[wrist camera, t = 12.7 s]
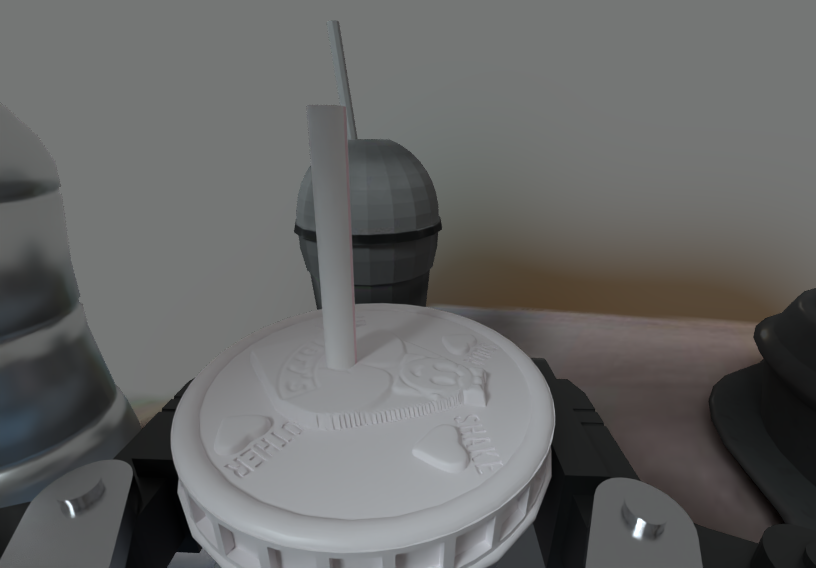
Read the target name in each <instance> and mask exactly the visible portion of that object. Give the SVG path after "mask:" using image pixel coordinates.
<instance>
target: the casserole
mask: <svg viewBox="0 0 816 568" xmlns="http://www.w3.org/2000/svg"><path fill="white" fill-rule="evenodd" d="M753 338H754V340H755V342H756V345H757V347H758V349H759V352H760V353H761V355H762V356H763V358H764V359H763V360H762V361H761V362H760V363H758V364H755V365H752V366H750V367H747V368H744V369H742V370H739V371H736V372H734V373H731V374H728V375H726V376H724V377H723V378H722V379H721V380H720V381H719V382H718V383H716V384H715V385H714V386H713V389H712V392H711V395H710V398H709V406H710V413H711V419H712V422H713V424H714V426H715V427H716V429H717V431H718V433H719V435H720V437H721V439H722V441H723V443H724V445H725V446H726V447H727V449H728V450H729V451H730V452H731V454H732V455H733V456H734V457H735V459H736V460H737V461H738V462H739V464H740V465H741V466H742V467H743V469H744V470H745V471H746V472H747V474H748V475H749V476H750V477H751V479H752V480H753V481H754V482H755V484H756V485H757V486H758V487H759V489H760V490H761V491H762V492H763V494H764V495H765V496H766V497H767V499H768V500H769V501H770V502H771V503H772V505H773V506H774V507H775V508H776V510H777V511H778V512H779V513H780V515H781V517H782V519H783V520H784V522H785V524H790V525H797V526H801V527H804V528H808V529H811V530H813V531H816V288H814V289H811V290H808V291H804V292H803V293H802V294H801V295H800V296H798V297H797V298H796V299H795V300H794V301H793V302H792V303H791V304H790V305H789V306H788V307H787V308H786V309H785V310H784V311H783V312H782V313H780V314H777V315H774V316H771V317H767V318H765V319H764V320H763V321H761V322H760V323H759V324H758V325H757V326H756V328H755V332H754V336H753Z"/></svg>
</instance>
